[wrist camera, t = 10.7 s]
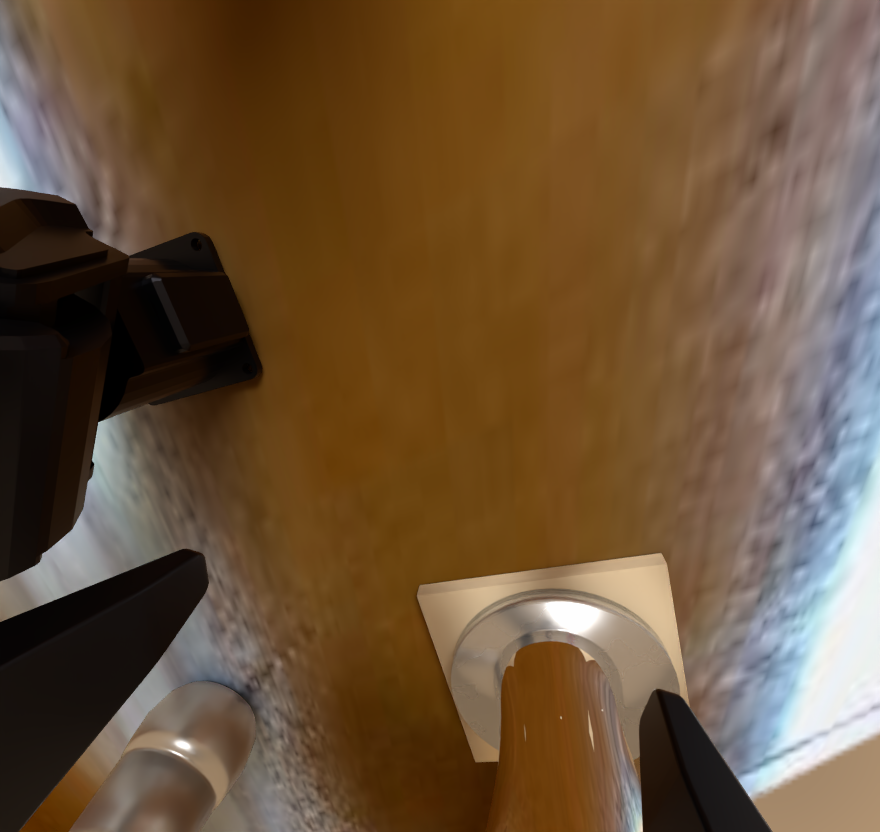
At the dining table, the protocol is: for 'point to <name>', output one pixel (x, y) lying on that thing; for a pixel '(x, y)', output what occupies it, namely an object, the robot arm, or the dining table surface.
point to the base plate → (618, 580)
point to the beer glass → (562, 739)
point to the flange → (566, 611)
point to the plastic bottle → (176, 764)
